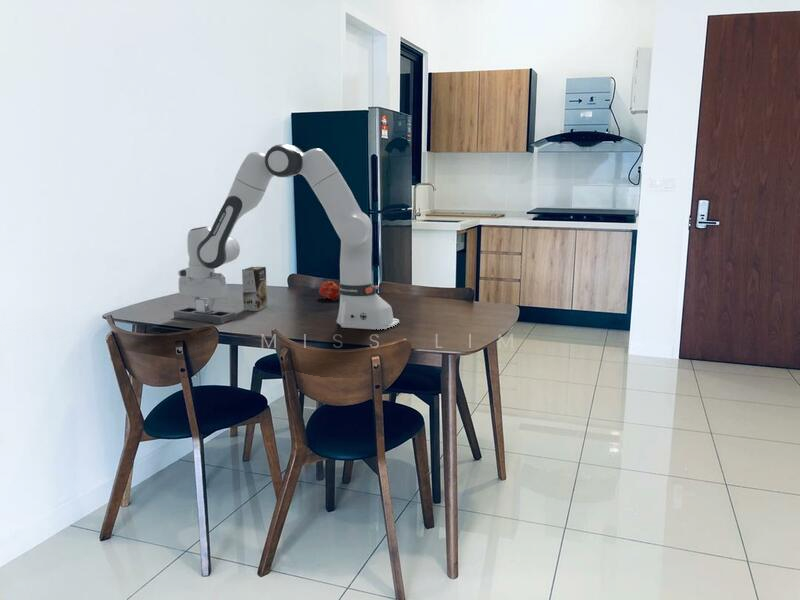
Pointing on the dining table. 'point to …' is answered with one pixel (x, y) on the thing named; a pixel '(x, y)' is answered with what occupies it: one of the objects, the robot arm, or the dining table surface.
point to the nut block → (202, 306)
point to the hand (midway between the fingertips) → (204, 309)
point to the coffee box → (254, 288)
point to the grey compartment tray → (204, 315)
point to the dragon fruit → (329, 290)
